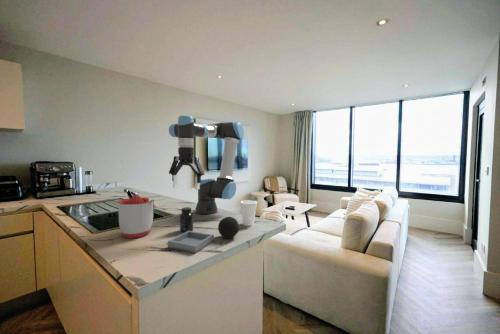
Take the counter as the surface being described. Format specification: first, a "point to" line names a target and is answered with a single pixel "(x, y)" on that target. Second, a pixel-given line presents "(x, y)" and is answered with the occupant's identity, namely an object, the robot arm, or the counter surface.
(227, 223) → the speaker
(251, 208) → the foam cup
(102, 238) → the counter surface
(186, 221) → the supplement bottle
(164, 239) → the counter surface
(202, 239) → the tray
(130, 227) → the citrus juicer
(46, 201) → the counter surface
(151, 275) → the counter surface
